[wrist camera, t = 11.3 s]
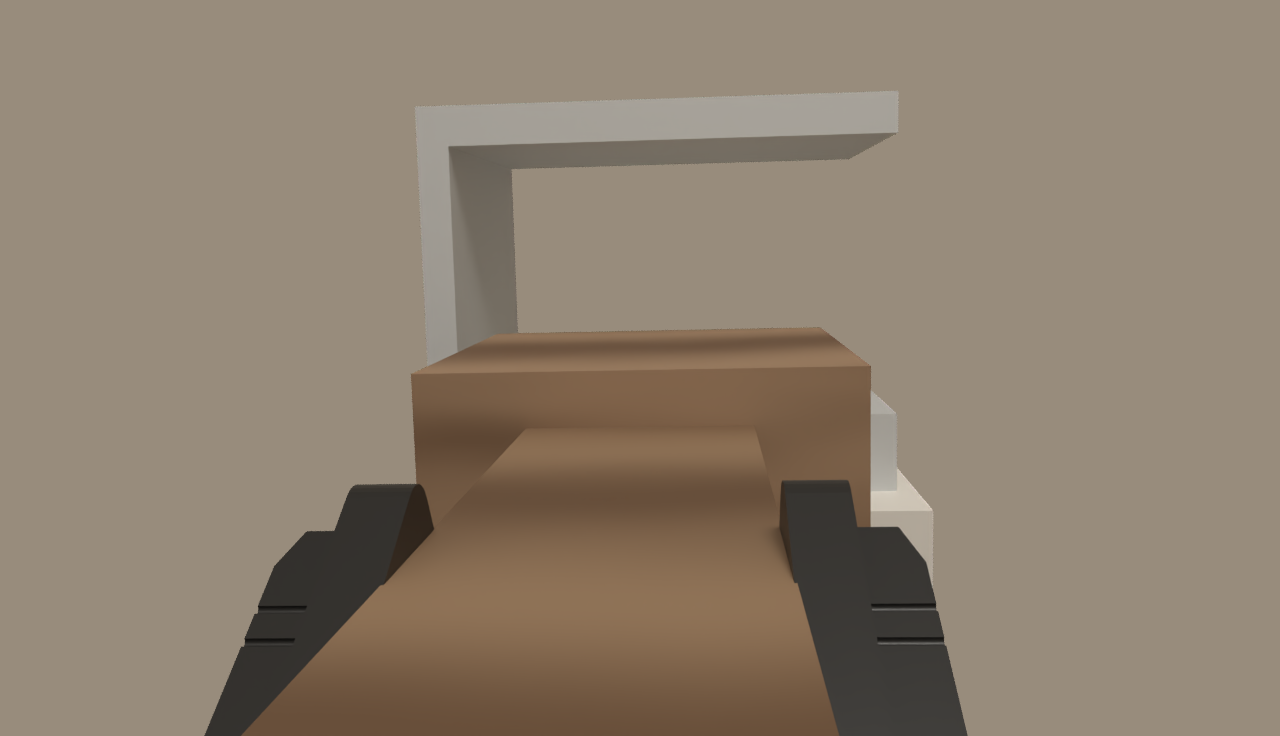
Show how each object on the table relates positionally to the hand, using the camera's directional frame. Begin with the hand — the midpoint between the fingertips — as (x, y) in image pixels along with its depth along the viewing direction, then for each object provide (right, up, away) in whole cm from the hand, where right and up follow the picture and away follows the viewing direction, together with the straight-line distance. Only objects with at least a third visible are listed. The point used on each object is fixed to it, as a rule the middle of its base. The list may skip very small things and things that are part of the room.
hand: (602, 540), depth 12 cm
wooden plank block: (0, -2, +5) cm, 5 cm away
